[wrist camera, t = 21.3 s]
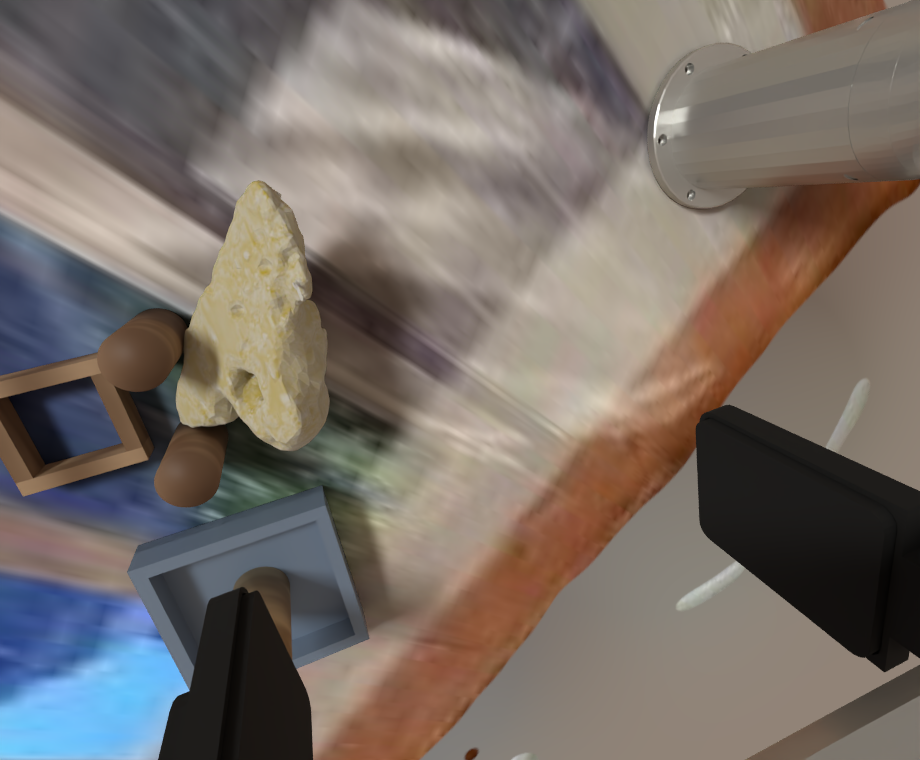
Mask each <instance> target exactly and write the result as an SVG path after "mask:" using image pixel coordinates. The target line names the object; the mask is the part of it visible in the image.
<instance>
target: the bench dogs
mask: <svg viewBox="0 0 920 760" xmlns="http://www.w3.org/2000/svg"><path fill="white" fill-rule="evenodd" d="M186 329H188V327H187V325H186V324H185V322H184V321H183V320H182V318H180V317H179V316H178V315H177V314H175V313H173V312H171V311H169V310H166V309H160V308H153V309H148V310H145V311H143V312H141V313H139V314H138V315H137V316H135V317H134V318H133V319H131V320H130V321H129V322H127V323H126V324H125V325H124V326H122V327H121V328H120V329H118V330H117V331H116V332H114V333H113V334H112V335H110V336H109V337H108V338H107V339H105V340H104V342H103V343H102V344H101V346H100V348H99V350H98V354H97V363H98V367H99V370H100V372H101V373H102V375H103V376H104V378H105V379H106V380H107V381H109V382H110V383H111V384H112V385H114V386H116V387H118V388H120V389H123V390H126V391H132V392H142V391H148V390H151V389H153V388H155V387H157V386H159V385H160V384H161V383H163V382H164V380H165V379H166V378H167V376H168V375H169V373H170V372H171V370H172V369H173V367H174V366H175V364H176V363H177V361H178V359H179V358H180V356H181V355H182V353H183V347H184V336H185V330H186ZM227 443H228V430H227V428H226V426H225V425H224V424H223V425H217V426H210V427H206V426H200V427H195V428H192V427H190V426H188V425H185V424H182V422H180V424H179V425H178V426H177V428H176V430H175V433H174V435H173V437H172V439H171V441H170V444H169V446H168V448H167V450H166V452H165V455H164V457H163V459H162V461H161V464H160V466H159V468H158V470H157V472H156V475H155V480H154V485H155V489H156V491H157V493H158V495H159V496H160V497H161V498H162V499H163V500H164V501H166V502H167V503H169V504H171V505H174V506H178V507H194V506H198V505H201V504H203V503H205V502H207V501H208V500H209V499H211V498H212V497H213V496H214V494H215V493H216V491H217V489H218V487H219V483H220V478H221V473H222V468H223V463H224V458H225V453H226V448H227Z"/></svg>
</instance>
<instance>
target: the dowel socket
mask: <svg viewBox="0 0 920 760" xmlns="http://www.w3.org/2000/svg"><path fill="white" fill-rule="evenodd" d="M97 354H98V353H93V354H89V355H85V356H81V357H77V358H73V359H68V360H64V361H60V362H56V363H52V364H48V365H43V366H39V367H35V368H31V369H27V370H23V371H18V372H14V373H10V374H6V375H2V376H0V458H1V459H2V461H3V463H4V464H5V466H6V468H7V470H8V471H9V473H10V475H11V476H12V478H13V480H14V482H15V483H16V485H17V487H18V488H19V490H20V492H21V494H22V495H23V496H26V495H30V494H33V493H37V492H40V491H43V490H47V489H50V488H54V487H57V486H60V485H64V484H67V483H71V482H74V481H78V480H81V479H84V478H88V477H91V476H95V475H98V474H102V473H105V472H108V471H112V470H115V469H119V468H122V467H125V466H129V465H132V464H136V463H139V462H143V461H146V460H149V458H150V456H151V454H152V452H153V450H154V446H153V443H152V441H151V439H150V437H149V435H148V432H147V430H146V428H145V426H144V424H143V421H142V419H141V417H140V415H139V413H138V410H137V408H136V406H135V404H134V402H133V399H132V397H131V395H130V393H129V391H126V390H123V389H120V388H118V387H116V386H114V385H112V384H111V383H110V382H109V381H107V380H106V379H105V378H104V376H103V375H102V373H101V372H100V370H99V367H98V363H97ZM88 376H91V378H92V380H93V382H94V385H95V387H96V389H97V391H98V393H99V395H100V397H101V399H102V401H103V403H104V405H105V408H106V410H107V412H108V414H109V416H110V418H111V420H112V422H113V424H114V426H115V428H116V431H117V433H118V435H119V437H120V439H121V441H122V443H121V444H118V445H114V446H111V447H107V448H104V449H100V450H97V451H93V452H89V453H86V454H82V455H79V456H75V457H72V458H68V459H65V460H61V461H58V462H54V463H50V464H47V465H45V463H44V461H43V460H42V458H41V456H40V454H39V452H38V450H37V449H36V447H35V445H34V443H33V441H32V440H31V438H30V436H29V434H28V432H27V430H26V429H25V427H24V425H23V423H22V421H21V420H20V418H19V416H18V414H17V412H16V410H15V409H14V407H13V405H12V403H11V401H10V400H9V398H8V396H12V395H16V394H20V393H24V392H28V391H32V390H36V389H40V388H44V387H48V386H52V385H56V384H60V383H64V382H68V381H72V380H76V379H80V378H84V377H88Z"/></svg>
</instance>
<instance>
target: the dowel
mask: <svg viewBox="0 0 920 760" xmlns="http://www.w3.org/2000/svg"><path fill="white" fill-rule="evenodd" d="M240 587H245V588H246V589H247V591H248V592H249V593H250V592H253V591H255V590H257V591H259V593H260V594H261V596H262V598H263V600H264V602H265V604H266V607H267V609H268V611H269V613H270V615H271V617H272V619H273V621H274V623H275V625H276V628H277V630H278V632H279V634H280V636H281V638H282V640H283V642H284V644H285V646H286V649H287V651H288V653H289V655H290V657H291V659H292V633H291V600H290V582H289V579H288V577H287V576H286V574H285V573H284V572H282V571H281V570H279V569H277V568H273V567H258V568H254V569H251V570H249V571H247V572H246V573H244V574H243V575H242V576H240V578H239V579H238V580H237V581H236V583H235V585H234V588H233V590H235V589H237V588H240Z"/></svg>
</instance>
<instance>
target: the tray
mask: <svg viewBox="0 0 920 760" xmlns="http://www.w3.org/2000/svg"><path fill="white" fill-rule="evenodd" d="M258 567H273V568H277V569H279V570H281V571H282V572H284V573H285V574H286V576H287V577H288V579H289V582H290V600H291V633H292V661H293V663H294V665H295V667H296V669H297V668H299V667H302V666H304V665H307V664H309V663H312V662H314V661H316V660H319V659H321V658H324V657H326V656H329V655H331V654H334V653H336V652H338V651H341V650H343V649H346V648H348V647H351V646H353V645H355V644H358V643H360V642H363V641H365V640H368V639H369V634H368V630H367V625H366V621H365V616H364V612H363V609H362V606H361V603H360V600H359V597H358V594H357V591H356V588H355V585H354V582H353V578H352V575H351V572H350V569H349V566H348V563H347V560H346V557H345V554H344V551H343V548H342V545H341V542H340V539H339V536H338V533H337V530H336V527H335V523H334V520H333V517H332V514H331V511H330V508H329V505H328V502H327V499H326V496H325V493H324V490H323V487H322V485H321V486H318V487H315V488H312V489H309V490H306V491H303V492H300V493H297V494H294V495H291V496H288V497H285V498H282V499H279V500H276V501H273V502H270V503H266V504H263V505H260V506H257V507H254V508H251V509H248V510H245V511H242V512H239V513H236V514H233V515H230V516H227V517H224V518H221V519H218V520H215V521H212V522H209V523H206V524H203V525H200V526H196V527H193V528H190V529H187V530H184V531H181V532H178V533H175V534H172V535H169V536H166V537H163V538H160V539H157V540H154V541H151V542H148V543H145V544H142V545H139V546H138V547H137V549H136V552H135V554H134V557H133V559H132V562H131V564H130V567H129V569H128V571H127V573H128V575H129V577H130V579H131V581H132V582H133V584H134V586H135V588H136V590H137V592H138V594H139V596H140V598H141V599H142V601H143V603H144V605H145V607H146V609H147V611H148V613H149V615H150V616H151V618H152V620H153V622H154V624H155V626H156V628H157V630H158V632H159V633H160V635H161V637H162V639H163V641H164V643H165V645H166V647H167V649H168V650H169V652H170V654H171V656H172V658H173V660H174V662H175V664H176V665H177V667H178V669H179V671H180V673H181V675H182V677H183V679H184V681H185V682H186V684H187V686H188V688H189V690H190V686H191V681H192V676H193V672H194V667H195V662H196V657H197V652H198V648H199V643H200V638H201V633H202V628H203V624H204V619H205V614H206V609H207V605H208V602H209V600H210V599H211V598H213V597H216V596H219V595H221V594H224V593H227V592H229V591H232V590H233V588H234V585H235V583H236V581H237V580H238V579H239V578H240V576H242V575H243V574H244V573H246V572H247V571H249V570H251V569H254V568H258Z"/></svg>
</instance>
